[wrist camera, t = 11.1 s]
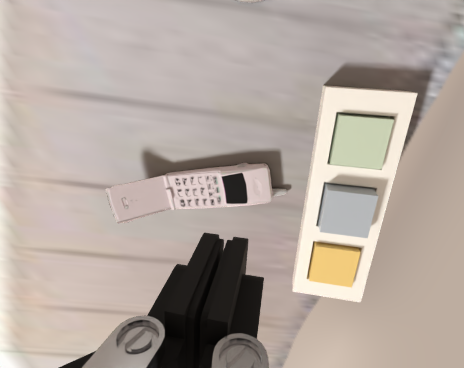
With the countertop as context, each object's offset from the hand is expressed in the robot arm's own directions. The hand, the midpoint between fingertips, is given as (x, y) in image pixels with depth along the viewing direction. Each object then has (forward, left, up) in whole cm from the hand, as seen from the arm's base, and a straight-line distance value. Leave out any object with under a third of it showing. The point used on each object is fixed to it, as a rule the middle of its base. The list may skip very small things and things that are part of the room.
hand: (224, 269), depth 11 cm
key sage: (+1, +11, -31) cm, 33 cm away
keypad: (+10, +11, -32) cm, 35 cm away
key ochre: (+19, +11, -31) cm, 38 cm away
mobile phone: (+10, -9, -33) cm, 36 cm away
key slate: (+10, +11, -30) cm, 33 cm away
